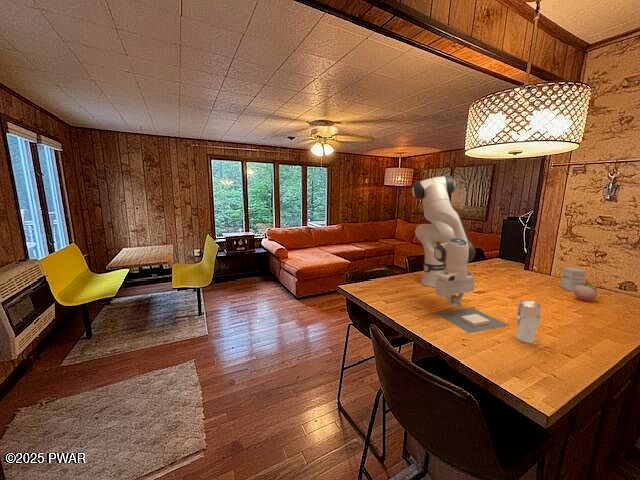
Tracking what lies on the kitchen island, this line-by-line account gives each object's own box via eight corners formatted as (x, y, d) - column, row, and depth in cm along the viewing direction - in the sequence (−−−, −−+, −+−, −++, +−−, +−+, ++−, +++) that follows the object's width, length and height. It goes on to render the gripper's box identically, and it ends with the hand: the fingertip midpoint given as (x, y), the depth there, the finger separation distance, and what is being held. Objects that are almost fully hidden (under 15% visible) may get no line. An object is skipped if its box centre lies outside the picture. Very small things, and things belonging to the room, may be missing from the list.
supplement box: (559, 286, 162) (562, 267, 160) (573, 287, 161) (576, 267, 159) (569, 291, 155) (572, 270, 153) (583, 291, 153) (586, 270, 151)
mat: (470, 308, 131) (470, 307, 131) (509, 326, 112) (509, 325, 112) (434, 314, 125) (434, 312, 125) (469, 334, 106) (469, 333, 106)
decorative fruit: (598, 301, 138) (601, 283, 137) (593, 305, 134) (596, 286, 132) (574, 296, 146) (577, 279, 145) (569, 299, 142) (572, 281, 140)
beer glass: (511, 334, 106) (515, 299, 104) (532, 337, 103) (537, 301, 101) (517, 342, 100) (521, 306, 97) (539, 346, 97) (544, 308, 95)
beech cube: (454, 302, 125) (454, 294, 124) (460, 305, 121) (461, 297, 121) (447, 303, 124) (447, 295, 123) (454, 307, 120) (454, 299, 119)
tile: (476, 313, 120) (461, 316, 117) (490, 320, 113) (474, 323, 111) (476, 317, 120) (460, 319, 118) (489, 323, 114) (473, 326, 111)
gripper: (467, 269, 126) (465, 296, 128) (433, 274, 120) (432, 302, 122) (479, 273, 120) (476, 301, 123) (443, 278, 114) (442, 308, 116)
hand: (454, 302), depth 122 cm, fingers closed on beech cube, 4 cm apart
